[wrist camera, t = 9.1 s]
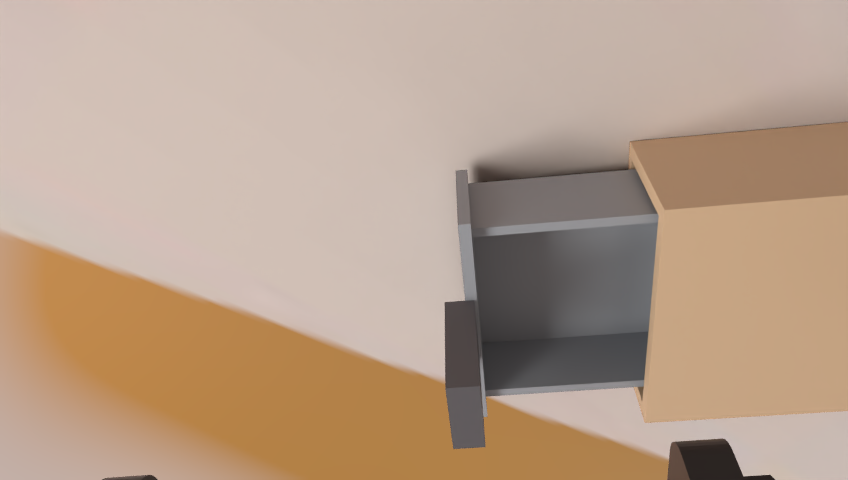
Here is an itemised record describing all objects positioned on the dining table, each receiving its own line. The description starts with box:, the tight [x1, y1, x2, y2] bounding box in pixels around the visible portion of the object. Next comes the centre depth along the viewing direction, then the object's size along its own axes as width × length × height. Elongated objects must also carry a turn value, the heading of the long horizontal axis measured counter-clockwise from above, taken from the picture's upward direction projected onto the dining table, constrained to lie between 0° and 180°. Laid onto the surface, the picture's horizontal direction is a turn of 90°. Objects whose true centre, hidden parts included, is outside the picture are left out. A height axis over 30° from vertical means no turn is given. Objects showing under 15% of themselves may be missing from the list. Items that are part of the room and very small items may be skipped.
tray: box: [445, 169, 659, 449], centre depth 36 cm, size 14×13×11 cm
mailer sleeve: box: [628, 122, 848, 423], centre depth 38 cm, size 13×14×7 cm
